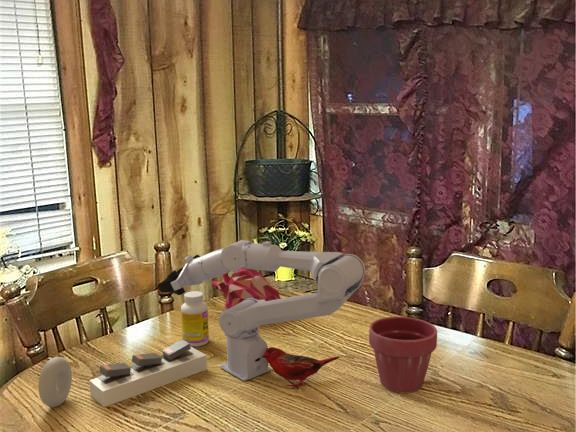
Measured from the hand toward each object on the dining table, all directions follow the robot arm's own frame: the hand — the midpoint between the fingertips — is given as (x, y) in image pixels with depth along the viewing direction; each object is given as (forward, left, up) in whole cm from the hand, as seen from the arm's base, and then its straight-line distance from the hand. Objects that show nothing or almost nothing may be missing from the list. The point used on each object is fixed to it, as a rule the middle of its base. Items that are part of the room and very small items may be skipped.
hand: (169, 281), depth 149 cm
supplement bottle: (0, -7, -18) cm, 19 cm away
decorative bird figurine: (-36, -11, -17) cm, 42 cm away
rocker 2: (-10, +12, -13) cm, 20 cm away
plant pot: (-49, -28, -18) cm, 59 cm away
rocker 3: (-10, +5, -13) cm, 17 cm away
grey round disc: (-7, +31, -18) cm, 37 cm away
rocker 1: (-10, +20, -13) cm, 26 cm away
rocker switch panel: (-11, +12, -18) cm, 24 cm away
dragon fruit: (+7, -28, -18) cm, 34 cm away
